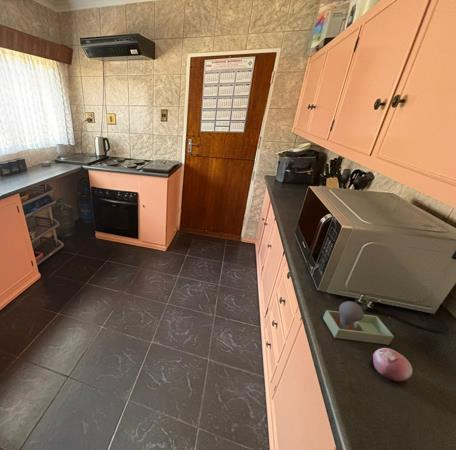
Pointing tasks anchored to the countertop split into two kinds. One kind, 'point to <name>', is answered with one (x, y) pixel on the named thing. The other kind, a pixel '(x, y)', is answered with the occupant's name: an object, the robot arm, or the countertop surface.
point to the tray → (359, 329)
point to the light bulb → (349, 314)
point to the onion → (392, 364)
